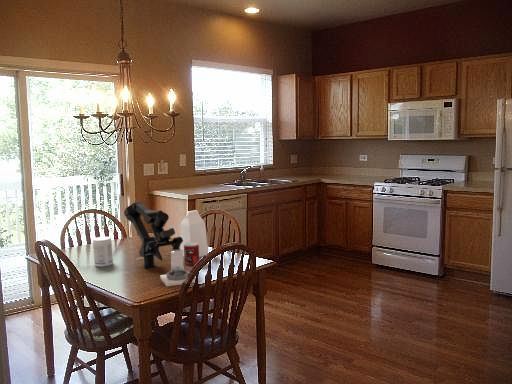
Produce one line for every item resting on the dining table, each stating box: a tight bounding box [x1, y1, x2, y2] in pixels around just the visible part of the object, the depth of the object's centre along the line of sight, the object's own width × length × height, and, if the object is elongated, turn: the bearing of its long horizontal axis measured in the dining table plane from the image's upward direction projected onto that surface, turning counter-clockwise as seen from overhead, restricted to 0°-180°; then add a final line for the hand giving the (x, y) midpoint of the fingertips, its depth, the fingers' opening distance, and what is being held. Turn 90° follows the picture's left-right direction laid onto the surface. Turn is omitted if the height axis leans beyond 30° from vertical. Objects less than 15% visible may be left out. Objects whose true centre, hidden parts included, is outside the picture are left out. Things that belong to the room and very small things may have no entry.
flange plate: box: [159, 269, 195, 287], centre depth 226 cm, size 14×14×4 cm
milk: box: [179, 209, 209, 258], centre depth 270 cm, size 12×12×26 cm
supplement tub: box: [92, 236, 114, 268], centre depth 254 cm, size 10×10×15 cm
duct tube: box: [169, 248, 185, 276], centre depth 225 cm, size 6×6×13 cm
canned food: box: [183, 242, 200, 266], centre depth 254 cm, size 8×8×11 cm
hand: (170, 258), depth 230 cm, fingers open, 9 cm apart
